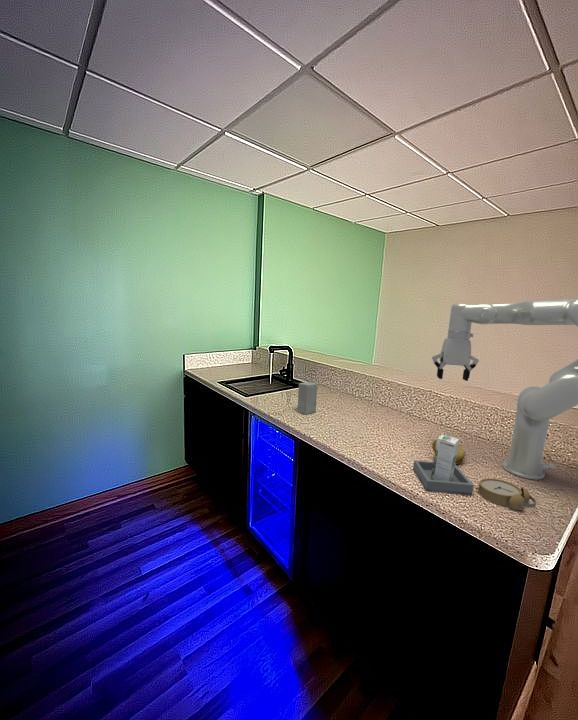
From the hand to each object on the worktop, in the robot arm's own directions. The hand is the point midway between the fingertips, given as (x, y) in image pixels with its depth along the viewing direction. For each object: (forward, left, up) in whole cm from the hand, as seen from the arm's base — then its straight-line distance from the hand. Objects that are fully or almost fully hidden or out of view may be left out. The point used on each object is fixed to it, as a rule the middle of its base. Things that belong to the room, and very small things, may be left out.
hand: (452, 379), depth 127 cm
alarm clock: (-7, +32, -31) cm, 45 cm away
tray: (+10, +25, -30) cm, 41 cm away
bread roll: (0, +8, -31) cm, 32 cm away
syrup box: (+10, +25, -30) cm, 40 cm away
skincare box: (+57, -37, -31) cm, 74 cm away
